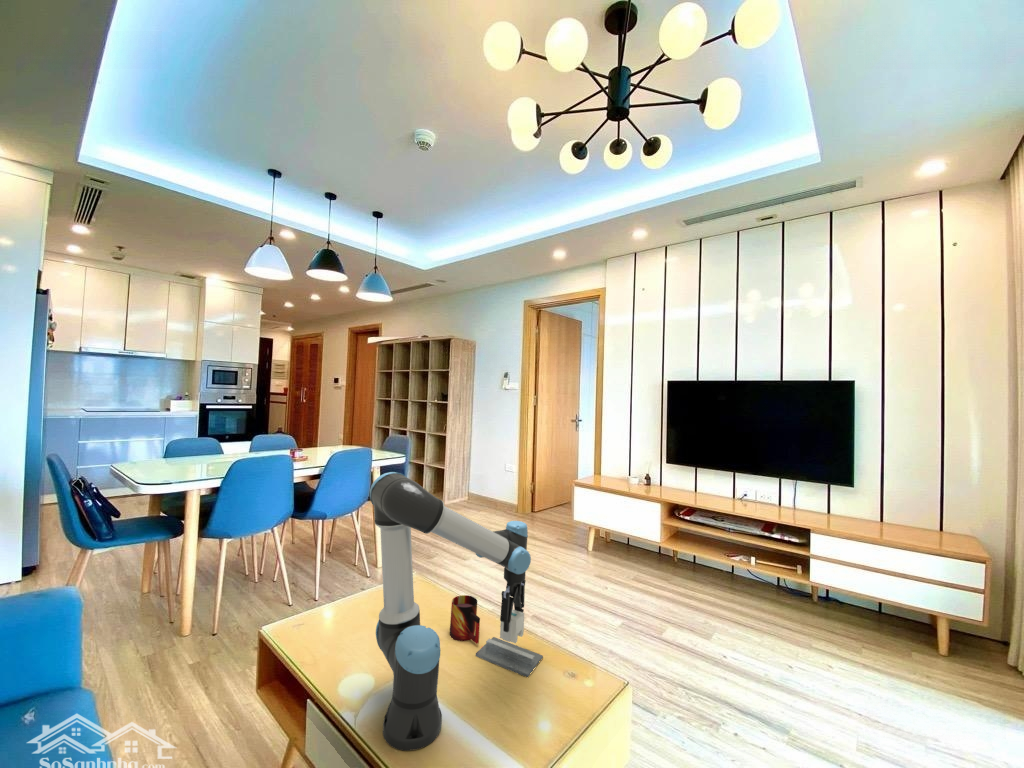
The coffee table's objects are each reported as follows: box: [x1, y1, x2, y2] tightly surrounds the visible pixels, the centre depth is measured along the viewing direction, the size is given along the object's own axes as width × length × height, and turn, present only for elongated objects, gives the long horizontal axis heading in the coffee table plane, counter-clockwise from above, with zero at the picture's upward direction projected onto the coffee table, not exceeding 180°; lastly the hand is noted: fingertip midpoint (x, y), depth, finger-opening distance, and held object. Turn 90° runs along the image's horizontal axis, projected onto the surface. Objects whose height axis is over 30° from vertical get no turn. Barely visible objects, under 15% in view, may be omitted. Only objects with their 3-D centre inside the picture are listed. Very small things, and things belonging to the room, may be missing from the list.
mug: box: [449, 594, 481, 645], centre depth 153 cm, size 10×14×12 cm
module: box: [499, 609, 525, 644], centre depth 142 cm, size 6×6×8 cm
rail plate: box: [475, 636, 544, 678], centre depth 141 cm, size 12×20×3 cm, turn 62°
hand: (511, 635), depth 142 cm, fingers closed on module, 6 cm apart
